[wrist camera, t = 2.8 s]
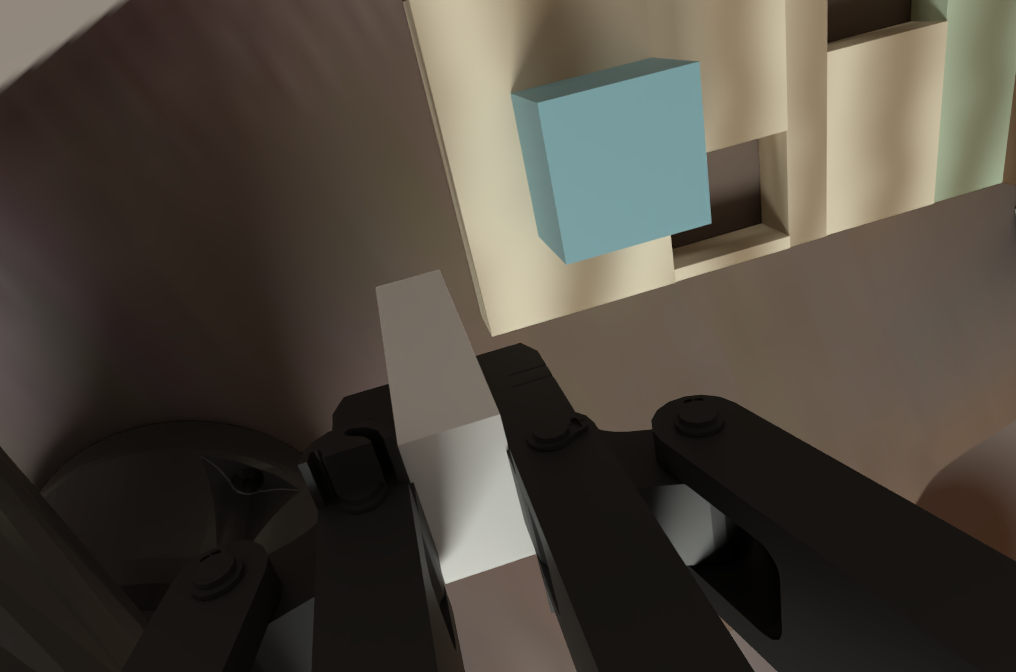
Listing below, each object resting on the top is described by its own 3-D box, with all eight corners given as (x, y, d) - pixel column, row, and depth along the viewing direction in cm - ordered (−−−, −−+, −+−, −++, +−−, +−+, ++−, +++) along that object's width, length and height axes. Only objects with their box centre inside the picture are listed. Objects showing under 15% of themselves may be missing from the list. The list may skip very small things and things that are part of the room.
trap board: (481, 316, 33) (502, 357, 29) (402, 1, 27) (415, -4, 23) (984, 169, 36) (1068, 187, 32) (1018, -142, 30) (1129, -170, 26)
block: (538, 236, 29) (566, 264, 26) (510, 93, 27) (537, 103, 23) (666, 200, 30) (711, 223, 26) (651, 57, 27) (699, 61, 24)
